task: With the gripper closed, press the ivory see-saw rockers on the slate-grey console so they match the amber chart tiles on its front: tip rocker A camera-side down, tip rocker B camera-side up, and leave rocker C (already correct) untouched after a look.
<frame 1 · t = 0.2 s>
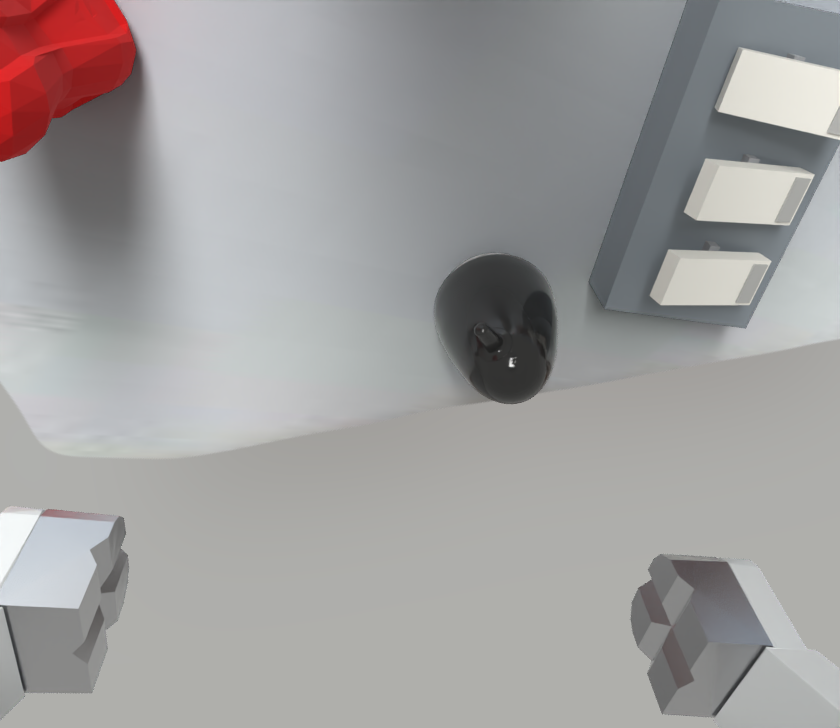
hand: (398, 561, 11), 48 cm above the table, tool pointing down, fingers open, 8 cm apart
water bottle: (55, 33, 49), on the table
console: (709, 162, 57), on the table
rocker c: (711, 278, 54), point 7 cm above the table, hinge at -15.0°
rocker b: (749, 193, 51), point 7 cm above the table, hinge at -15.0°
black rounded dome: (486, 287, 62), on the table
rocker a: (794, 94, 47), point 7 cm above the table, hinge at 15.0°
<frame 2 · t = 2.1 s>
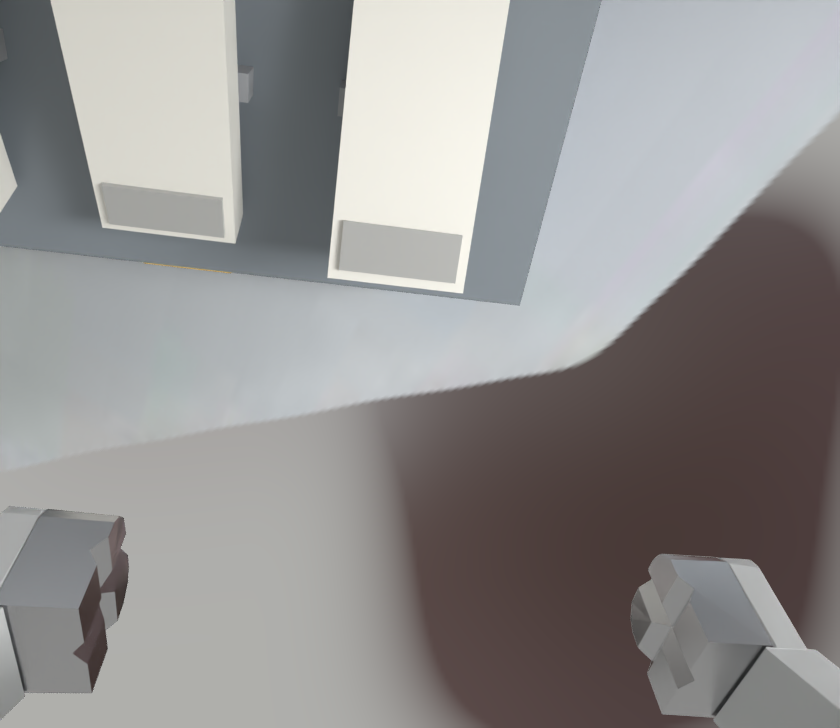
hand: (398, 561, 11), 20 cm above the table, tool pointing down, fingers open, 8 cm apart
console: (211, 40, 25), on the table
rocker b: (157, 88, 19), point 7 cm above the table, hinge at -15.0°
rocker a: (414, 124, 19), point 7 cm above the table, hinge at 15.0°
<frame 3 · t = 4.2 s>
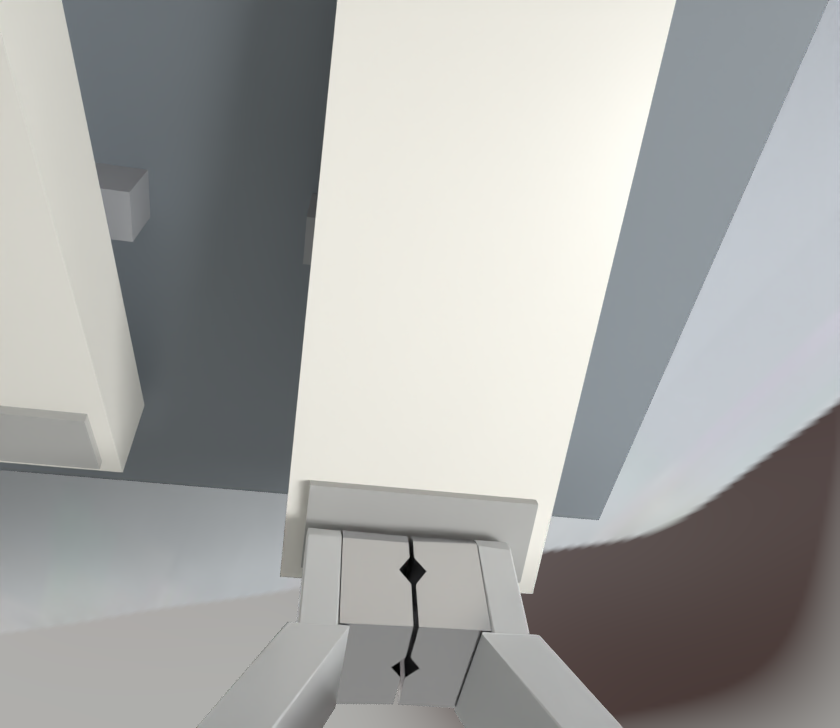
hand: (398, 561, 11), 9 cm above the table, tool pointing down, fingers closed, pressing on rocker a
console: (107, 97, 15), on the table
rocker a: (450, 296, 10), point 7 cm above the table, hinge at 14.7°, touching gripper
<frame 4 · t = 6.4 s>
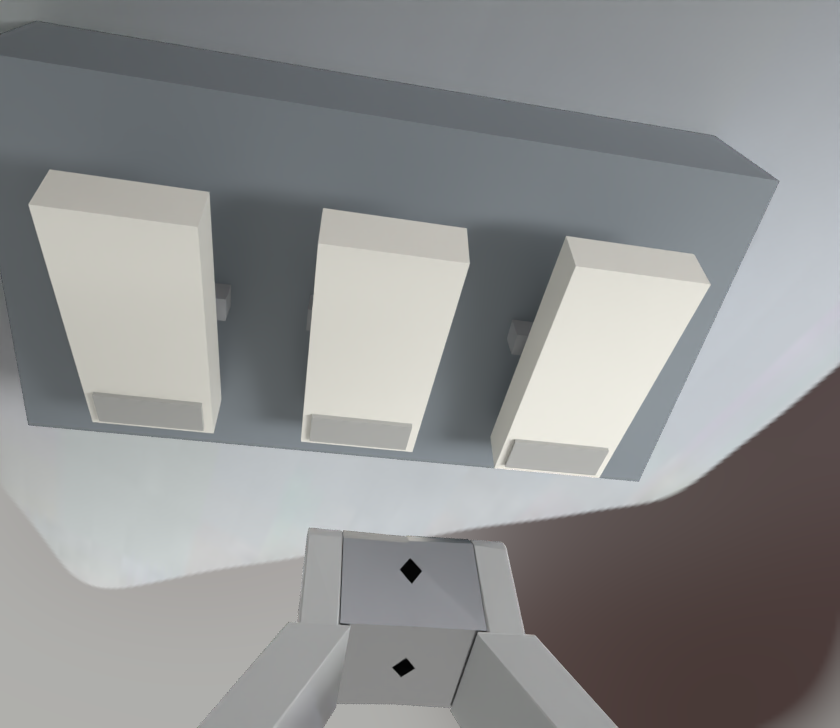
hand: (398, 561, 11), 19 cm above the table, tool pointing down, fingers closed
console: (374, 250, 28), on the table
rocker c: (143, 322, 21), point 7 cm above the table, hinge at -15.0°
rocker b: (373, 349, 22), point 7 cm above the table, hinge at -15.0°
rocker a: (585, 373, 23), point 7 cm above the table, hinge at -9.5°
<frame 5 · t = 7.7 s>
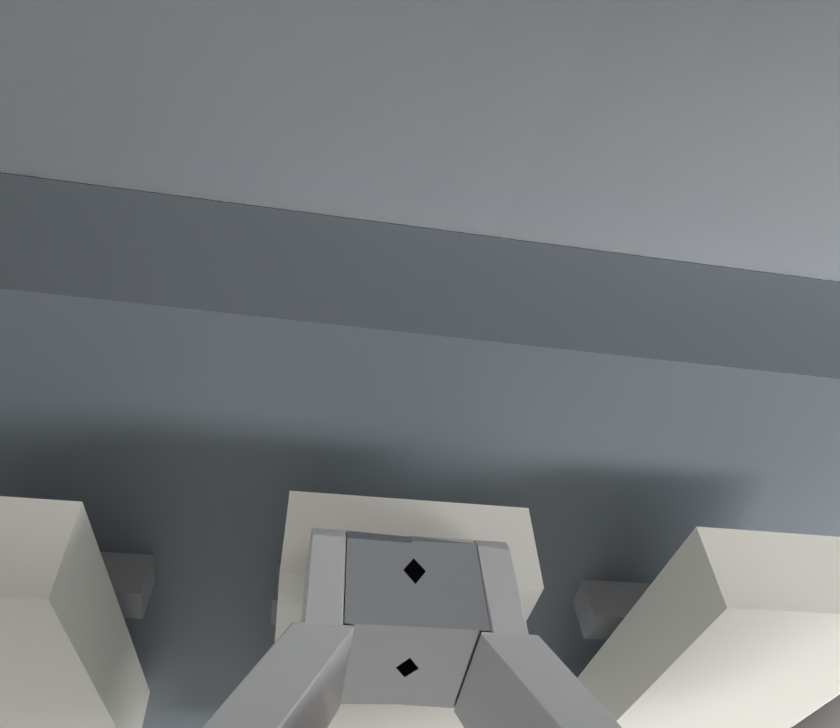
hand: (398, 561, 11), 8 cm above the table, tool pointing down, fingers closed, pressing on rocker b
console: (373, 438, 20), on the table
rocker b: (376, 672, 14), point 7 cm above the table, hinge at -8.3°, touching gripper
rocker a: (702, 684, 15), point 7 cm above the table, hinge at -10.3°
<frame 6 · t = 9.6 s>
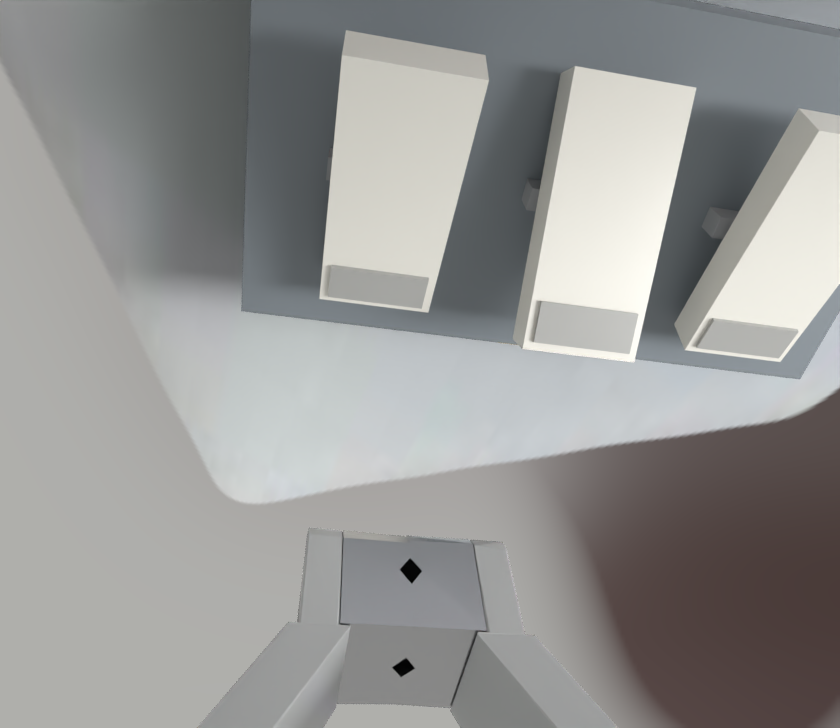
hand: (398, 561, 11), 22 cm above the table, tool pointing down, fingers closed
console: (554, 155, 29), on the table
rocker c: (392, 192, 22), point 7 cm above the table, hinge at -15.0°
rocker b: (599, 221, 23), point 7 cm above the table, hinge at 19.6°, touching console
rocker a: (789, 251, 24), point 7 cm above the table, hinge at -10.5°
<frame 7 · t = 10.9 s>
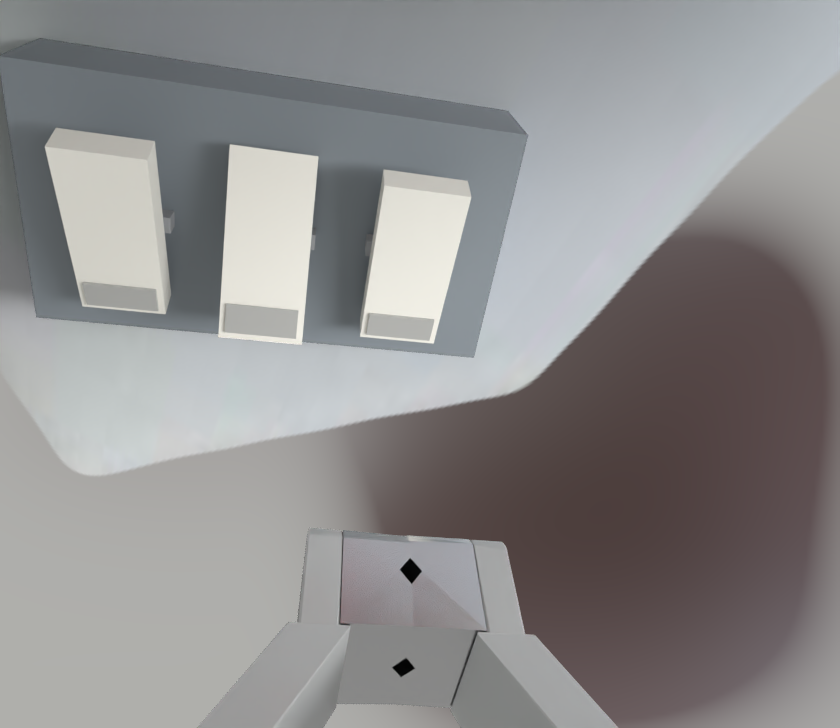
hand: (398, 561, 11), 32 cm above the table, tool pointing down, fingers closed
console: (279, 196, 39), on the table
rocker c: (115, 230, 32), point 7 cm above the table, hinge at -15.0°
rocker b: (268, 247, 33), point 7 cm above the table, hinge at 18.5°
rocker a: (410, 264, 35), point 7 cm above the table, hinge at -10.6°
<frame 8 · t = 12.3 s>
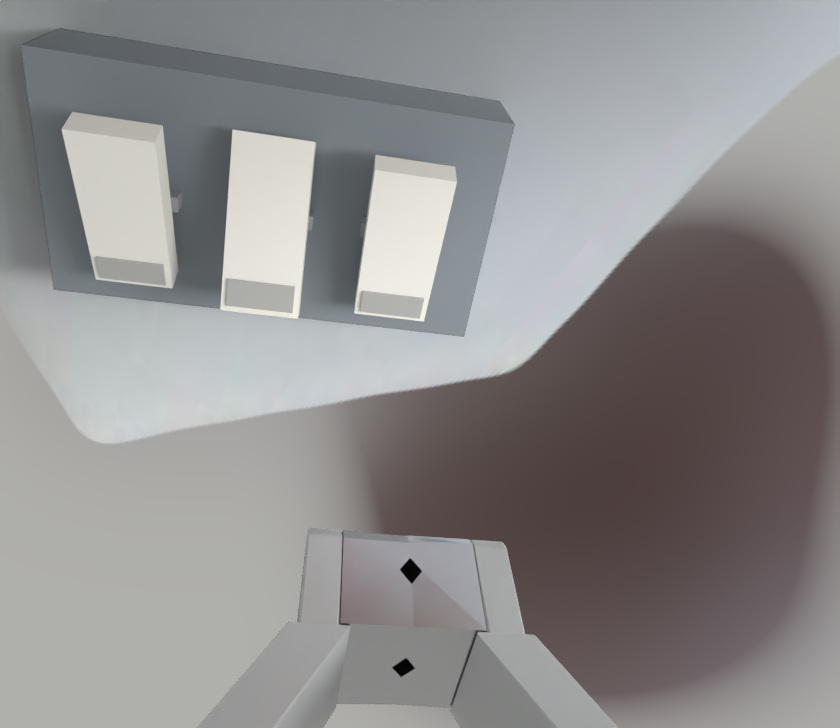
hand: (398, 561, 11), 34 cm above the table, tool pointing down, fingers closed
console: (282, 180, 42), on the table
rocker c: (126, 208, 35), point 7 cm above the table, hinge at -15.0°
rocker b: (267, 226, 36), point 7 cm above the table, hinge at 18.3°
rocker a: (401, 245, 37), point 7 cm above the table, hinge at -10.6°
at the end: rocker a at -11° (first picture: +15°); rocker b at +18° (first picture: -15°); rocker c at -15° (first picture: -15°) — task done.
